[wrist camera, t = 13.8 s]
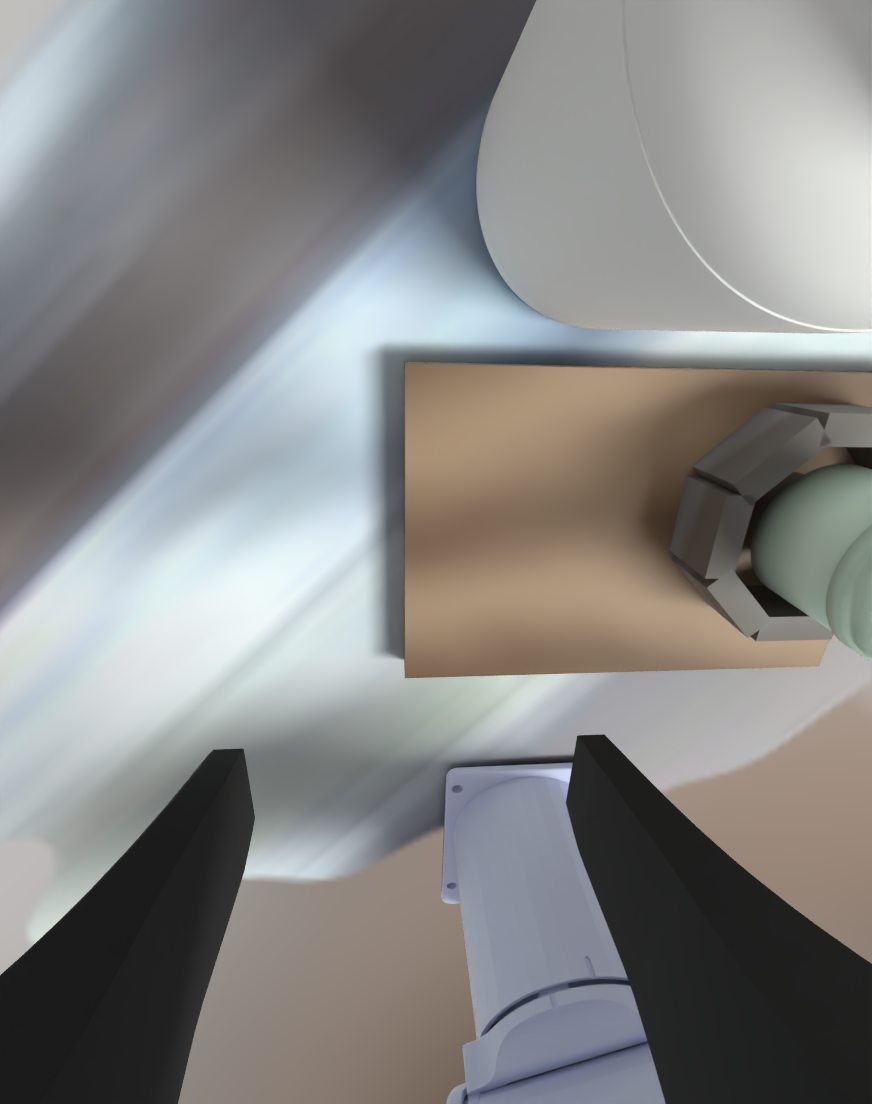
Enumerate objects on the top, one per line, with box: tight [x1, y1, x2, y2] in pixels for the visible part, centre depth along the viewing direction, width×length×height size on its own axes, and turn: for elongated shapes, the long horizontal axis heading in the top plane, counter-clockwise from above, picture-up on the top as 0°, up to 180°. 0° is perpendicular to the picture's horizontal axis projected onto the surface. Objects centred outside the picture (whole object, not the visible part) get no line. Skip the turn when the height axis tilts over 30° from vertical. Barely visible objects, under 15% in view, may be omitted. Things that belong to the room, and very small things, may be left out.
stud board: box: [404, 361, 872, 678], centre depth 18 cm, size 12×18×4 cm, turn 89°
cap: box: [751, 464, 872, 661], centre depth 15 cm, size 5×5×4 cm
